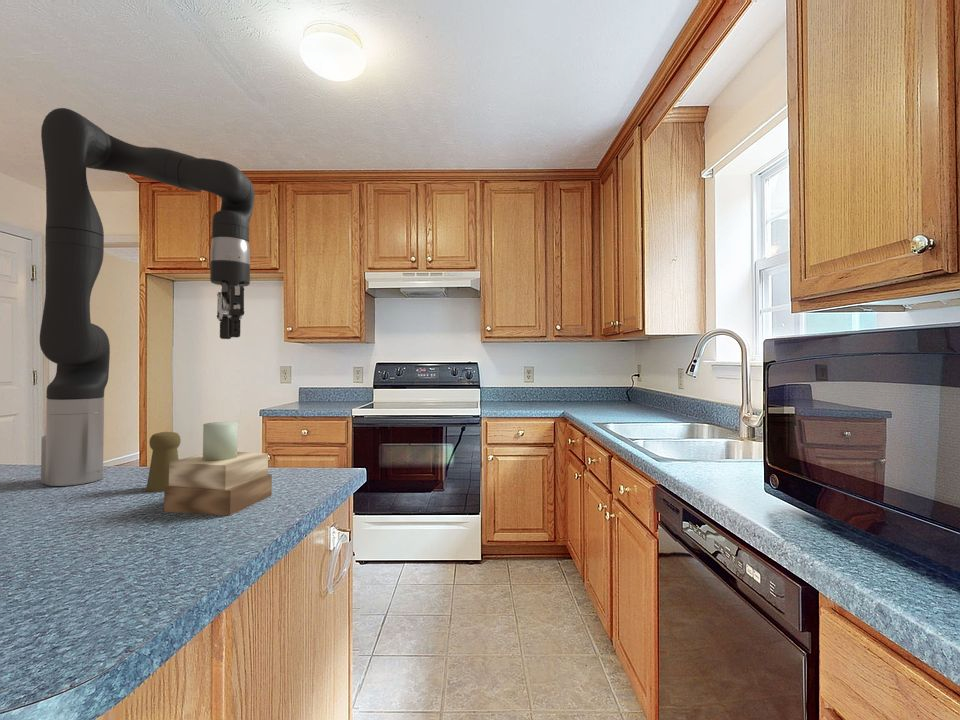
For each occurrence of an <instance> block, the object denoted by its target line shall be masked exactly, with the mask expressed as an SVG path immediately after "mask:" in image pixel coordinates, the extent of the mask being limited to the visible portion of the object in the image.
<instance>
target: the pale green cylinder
mask: <svg viewBox="0 0 960 720" xmlns="http://www.w3.org/2000/svg"><path fill="white" fill-rule="evenodd" d="M238 424H239V423H238V422H236V421H216V422H214V421H213V422H207V423H203V425H202V426H203V429H202V430H203V432H202V454H203V460H210V461H217V460H228V459H233V458H236V457H237V452H238V437H239V435H238V433H239V431H238V428H239V426H238Z"/></svg>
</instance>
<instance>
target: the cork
mask: <svg viewBox="0 0 960 720" xmlns="http://www.w3.org/2000/svg"><path fill="white" fill-rule="evenodd" d="M179 446H181V436H180V434H179V433H178V432H174V431H162V432H157V433H154V434H152V435H151V437H150V438H149V447H150V449H151V450H152V453H151V459H150V465H149V466H150V467H149V471H148V477H147V484H146V488H145V489H146V492H149V493H162V492H163V493H164V487H167V486H169V462H171V461H176V460H180V459H179V454H178V448H179Z"/></svg>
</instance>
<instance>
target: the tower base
mask: <svg viewBox="0 0 960 720" xmlns="http://www.w3.org/2000/svg"><path fill="white" fill-rule="evenodd" d="M272 475H273V474H272V473H268V475H267V476H264V477H261V478H258V479H255V480H252V481H249V482H247V483H244V484H241V485H238V486H235V487H232V488H229V489H226V490H220V489H206V488H193V487H180V486H167V487H164V492H163V493H164V499H163V505H164V506H163V512H165V513H176V514H177V513H179V514H194V513H196V514H199V515H212V514H215V516H216V515H217V516H232V515H234V514H237V513H238V512H240V511H242V510H244V509H247V508H249V507H251V506H253V505H255V504H257V503H259V502H262V501H264V500H266V499H268V498H270V497H272V489H273V488H272V485H273V484H272V483H273V482H272V480H273V477H272Z"/></svg>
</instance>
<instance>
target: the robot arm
mask: <svg viewBox="0 0 960 720" xmlns="http://www.w3.org/2000/svg"><path fill="white" fill-rule="evenodd" d="M40 132H41V133H40V134H41V135H40V137H41V148H42V154H43V155H42V156H43V162H44V170H45V171H44V172H45V174H44V175H45V201H46V202H45V203H46V204H45V206H46V207H45V208H46V211H45V213H46V218H45V235H44V236H45V238H44V239H45V241H44V243H45V246H44V247H45V249H44V250H45V273H44V274H45V296H44V305H43V310H42V316H41V317H42V318H41V324H40V331H39V347H40V350H41V352H42V353H43V355H44V356H45V357H46V359H48V360H49V361H51V362H52V363H54V364H56V371H55V373H56V374H55V375H54V378H53V379H52V381H51V382H50V383H49V384H48V385H47V386H46V395H45V396H46V407H45V408H46V409H45V410H46V412H45V414H46V415H45V417H46V419H45V420H46V421H45V435H43V436H41V441H40V442H41V444H40V445H41V449H40V450H41V453H40V456H41V457H40V461H41V462H40V484H44V485H46V486H49V487H50V486H51V487H63V486H64V487H65V486H75V485H81V484H87V483H92V482H93V483H94V482H96V481H99V480H103V478H104V444H105V443H104V442H105V441H104V440H105V439H104V437H105V435H104V434H105V432H104V431H105V425H104V424H105V389H106V387H107V384H108V382H109V373H110V371H109V370H110V353H111V351H110V350H111V348H110V339H109V336H108V334H107V333H106V331H105V330H104V329H103V328H101V327H100V326H99V325H97V324H94V323H92V322H91V321H92V320H91V294H92V292H93V287H94V286H95V283H96V281H97V278H98V276H99V274H100V271H101V267H102V266H103V262H104V261H103V260H104V250H105V249H104V247H105V246H104V243H105V242H104V241H105V239H104V237H105V236H104V235H105V234H104V227H103V223H102V219H101V217H100V214H99V211H98V208H97V207H96V204H95V202H94V199H93V197H92V194H91V192H90V189H89V185H88V184H89V183H88V180H87V179H88V178H87V177H88V176H87V169H91V170H99V171H101V170H102V171H107V172H108V171H110V172H118V173H124V174H128V175H129V174H130V175H134V176H139V177H143V178H145V179H149V180H153V181H155V182H156V181H157V182H160V183H162V184H165V185H170V186H173V187H177V188H180V189H184V190H187V191H193V192H200V191H205V192H208V193H210V194H212V195H213V194H214V195H216V196H217V197H219V198H221V206H220V210H218V211H216V212H215V213H214V214H213V216H212V224H211V225H212V228H211V229H212V231H211V235H212V236H211V238H212V239H211V247H210V259H209V260H210V262H209V263H210V266H209V267H210V269H209V271H210V272H209V275H210V276H209V281H210V282H211V284H214V285H217V286H218V285H220V286H221V291H220V292H217V294H216V296H217V311H216V313H217V314H216V319H217V320H218V322H219V338H220V339H222V340H230V339H232V338H240V337H241V320H242V318H243V316H244V314H245V287H248V286H250V284H251V250H250V221H251V218H252V213H253V209H254V204H255V189H254V185H253V183H252V181H251V180H250V179H249V178H248V177H247V176H246V174H245V173H244V172H242V171H241V170H240V169H239V168H238V167H237V166H235V165H233V164H231V163H229V162H226V161H222V160H220V159H219V160H218V159H214V158H213V159H212V158H204V157H201V158H200V157H196V156H193V155H190V154H188V153H187V154H186V153H182V152H179V151H176V150H173V149H172V150H171V149H168V148H164V147H154V146H153V147H149V146H148V147H146V146H138V145H134V144H132V143H128V142H126V141H124V140H121V139H119V138H116V137H115V136H112V134H109V133H107V132H105V131H104V130H103V128H101V127H100V126H98V125H96V124H95V123H93V122H92V121H91V120H89V119H88V118H87V117H85V116H83V115H82V114H81V113H79V112H77V111H74V110H72V109H69V108H67V107H60V108H59V107H57V108H55V109H52V110H51V111H50V112H49V111H48V113H47V114H46V115H45V116H44V119H43V120H42V125H41V130H40Z"/></svg>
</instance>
